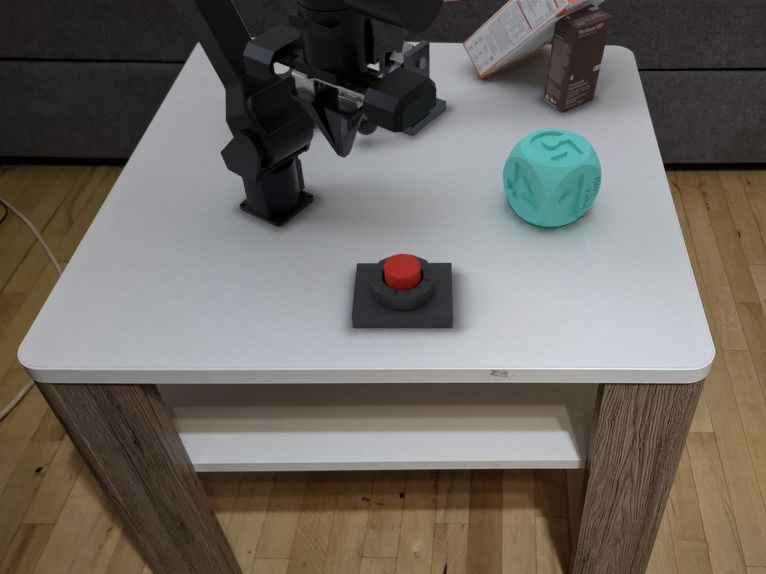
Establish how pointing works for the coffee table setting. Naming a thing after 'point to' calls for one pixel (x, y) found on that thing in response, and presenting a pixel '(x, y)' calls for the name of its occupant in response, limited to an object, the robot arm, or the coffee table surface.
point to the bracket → (418, 63)
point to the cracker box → (517, 31)
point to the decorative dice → (552, 177)
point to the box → (576, 57)
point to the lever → (396, 61)
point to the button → (402, 271)
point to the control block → (403, 298)
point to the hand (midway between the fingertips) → (343, 154)
